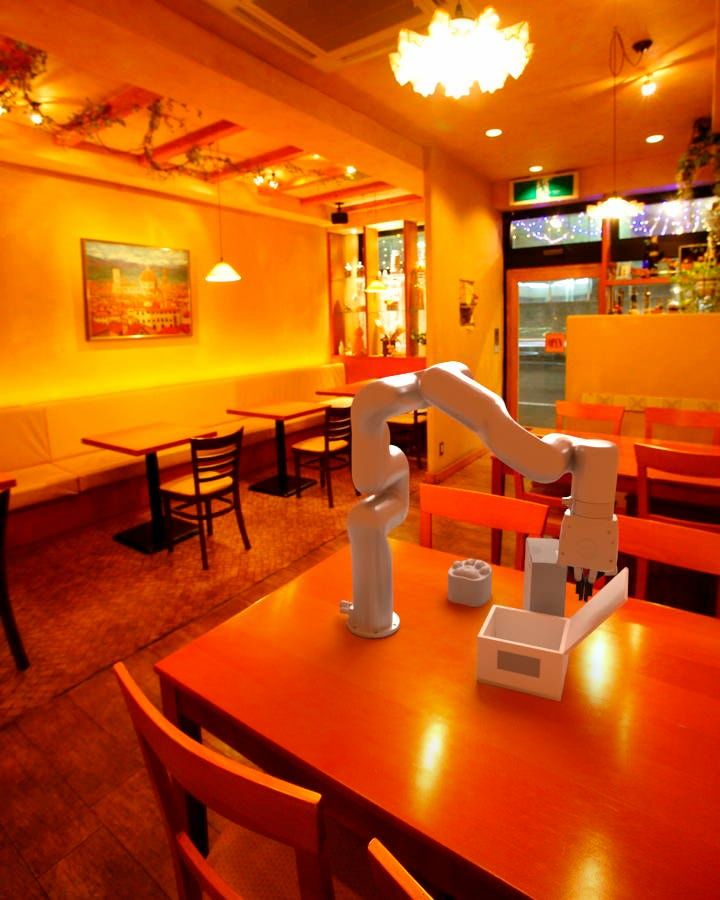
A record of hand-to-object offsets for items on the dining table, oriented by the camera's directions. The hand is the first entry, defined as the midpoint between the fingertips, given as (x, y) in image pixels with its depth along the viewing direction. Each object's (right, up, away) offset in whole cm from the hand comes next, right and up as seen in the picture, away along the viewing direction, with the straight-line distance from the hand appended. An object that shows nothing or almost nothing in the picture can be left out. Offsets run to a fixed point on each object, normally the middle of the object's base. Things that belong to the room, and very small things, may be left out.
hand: (583, 598), depth 109 cm
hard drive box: (0, -14, +24) cm, 28 cm away
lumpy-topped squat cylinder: (-13, -10, +42) cm, 45 cm away
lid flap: (+2, -2, -1) cm, 3 cm away
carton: (-9, -17, +8) cm, 21 cm away
